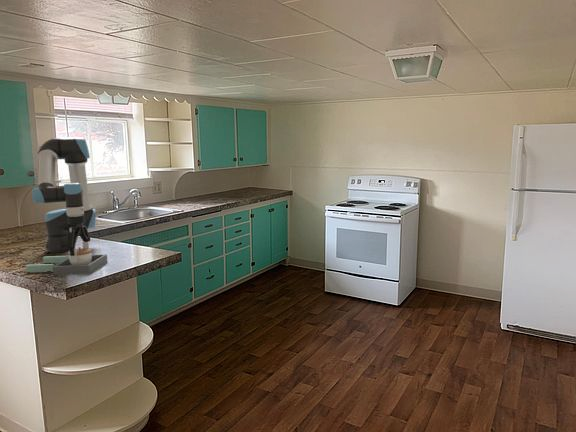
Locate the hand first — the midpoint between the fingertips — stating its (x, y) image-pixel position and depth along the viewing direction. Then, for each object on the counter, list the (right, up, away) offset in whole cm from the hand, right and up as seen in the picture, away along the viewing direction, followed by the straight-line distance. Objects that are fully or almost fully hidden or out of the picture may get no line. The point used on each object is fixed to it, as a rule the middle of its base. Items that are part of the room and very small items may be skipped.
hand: (80, 258), depth 218 cm
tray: (0, -5, +1) cm, 5 cm away
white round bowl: (0, -4, +1) cm, 4 cm away
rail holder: (-18, -5, +5) cm, 19 cm away
